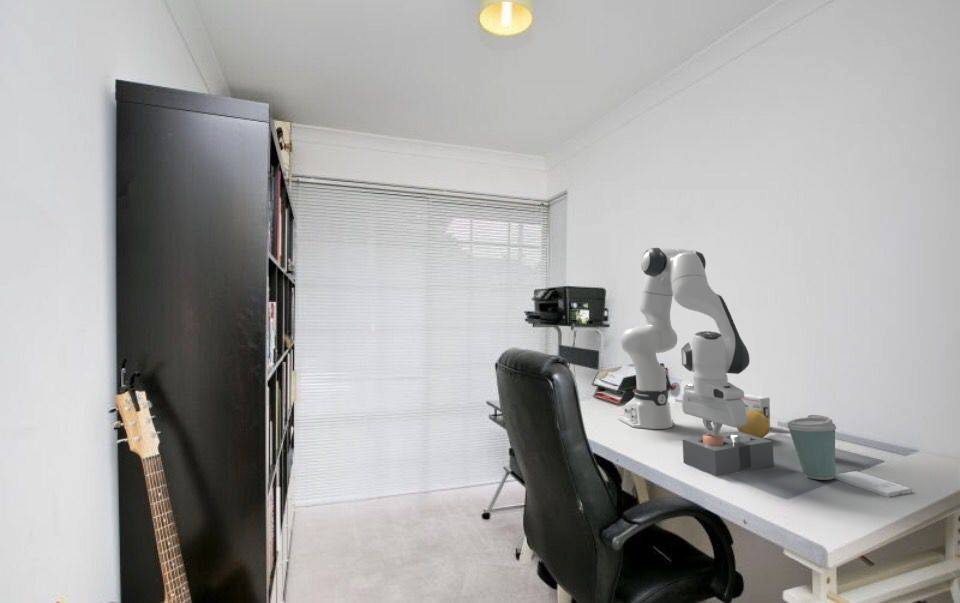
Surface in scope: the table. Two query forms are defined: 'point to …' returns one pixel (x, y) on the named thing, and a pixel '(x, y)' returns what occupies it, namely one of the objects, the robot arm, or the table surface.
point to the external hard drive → (872, 483)
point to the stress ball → (755, 424)
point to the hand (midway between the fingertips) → (712, 435)
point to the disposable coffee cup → (815, 446)
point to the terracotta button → (712, 440)
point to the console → (728, 455)
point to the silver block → (740, 437)
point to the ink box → (758, 404)
